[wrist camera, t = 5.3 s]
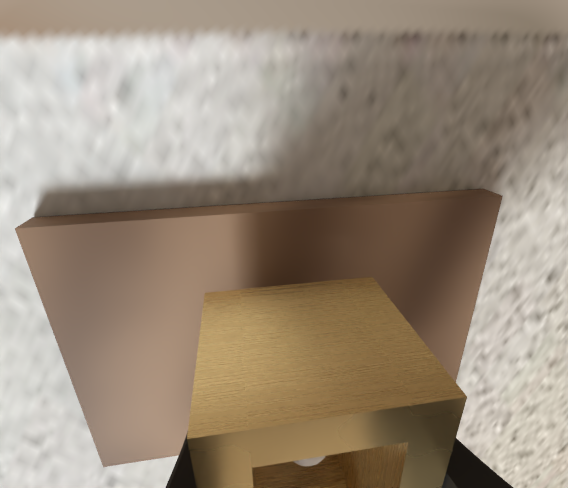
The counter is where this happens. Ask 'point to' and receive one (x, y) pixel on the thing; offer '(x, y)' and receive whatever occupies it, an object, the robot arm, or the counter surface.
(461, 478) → the robot arm
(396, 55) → the counter surface
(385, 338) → the link
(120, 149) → the counter surface
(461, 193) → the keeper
